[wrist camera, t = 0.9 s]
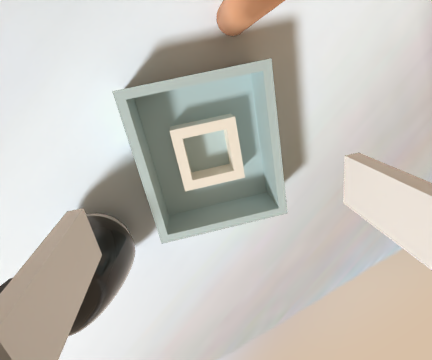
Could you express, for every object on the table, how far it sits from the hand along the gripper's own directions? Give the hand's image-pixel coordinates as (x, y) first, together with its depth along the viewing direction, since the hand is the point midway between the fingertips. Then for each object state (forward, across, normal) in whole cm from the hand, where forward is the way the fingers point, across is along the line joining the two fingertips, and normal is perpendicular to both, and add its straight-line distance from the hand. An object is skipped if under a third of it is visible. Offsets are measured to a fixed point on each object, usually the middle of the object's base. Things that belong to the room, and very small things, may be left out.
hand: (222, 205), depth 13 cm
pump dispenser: (+22, -16, -12) cm, 30 cm away
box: (+22, +1, -3) cm, 22 cm away
